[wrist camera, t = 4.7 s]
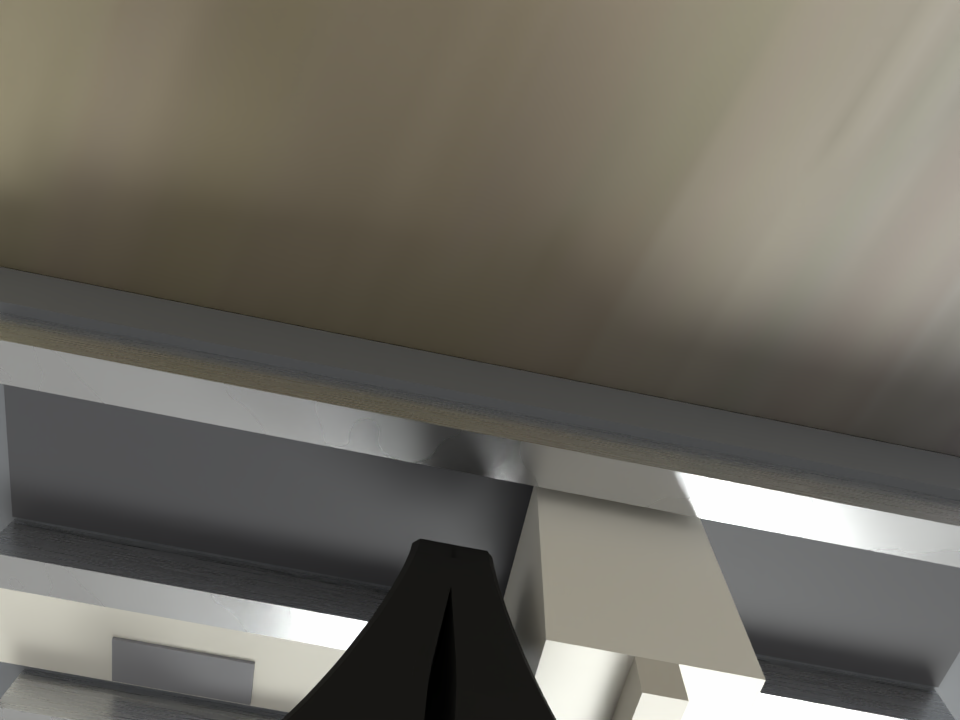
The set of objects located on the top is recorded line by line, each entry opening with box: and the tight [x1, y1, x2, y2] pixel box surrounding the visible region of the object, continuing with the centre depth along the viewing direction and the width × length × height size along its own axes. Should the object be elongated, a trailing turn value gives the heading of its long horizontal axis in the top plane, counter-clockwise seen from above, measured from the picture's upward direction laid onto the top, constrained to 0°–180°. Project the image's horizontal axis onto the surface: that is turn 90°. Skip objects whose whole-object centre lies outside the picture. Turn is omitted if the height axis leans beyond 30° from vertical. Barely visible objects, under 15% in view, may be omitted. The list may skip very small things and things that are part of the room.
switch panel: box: [0, 267, 960, 720], centre depth 16 cm, size 14×22×2 cm, turn 79°
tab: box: [504, 486, 766, 720], centre depth 12 cm, size 3×3×5 cm
